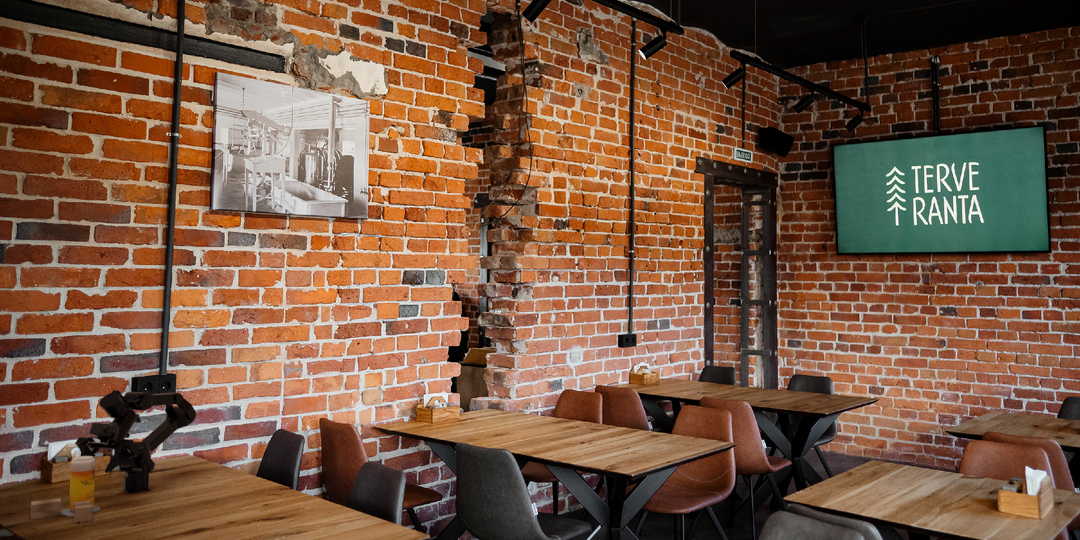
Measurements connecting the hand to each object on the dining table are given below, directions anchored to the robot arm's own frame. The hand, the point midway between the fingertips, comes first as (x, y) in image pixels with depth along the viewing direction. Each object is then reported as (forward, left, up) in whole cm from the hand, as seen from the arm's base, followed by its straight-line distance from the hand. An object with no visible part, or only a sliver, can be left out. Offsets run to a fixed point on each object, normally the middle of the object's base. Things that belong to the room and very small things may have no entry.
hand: (92, 471), depth 226 cm
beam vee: (+5, +4, -11) cm, 12 cm away
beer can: (+3, +2, -10) cm, 11 cm away
